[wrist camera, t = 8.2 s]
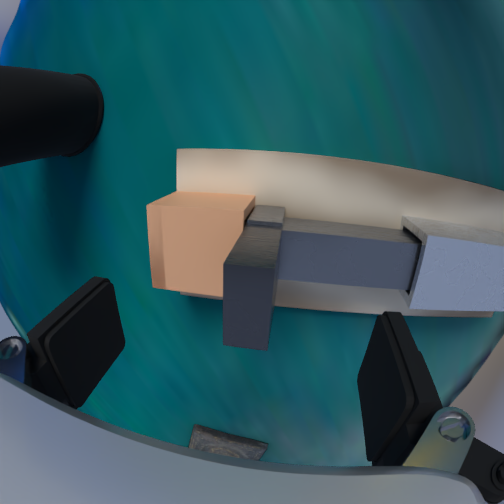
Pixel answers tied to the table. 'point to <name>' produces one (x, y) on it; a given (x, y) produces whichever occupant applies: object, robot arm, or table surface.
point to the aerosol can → (46, 114)
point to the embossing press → (225, 444)
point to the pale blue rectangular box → (456, 267)
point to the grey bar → (305, 265)
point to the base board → (341, 209)
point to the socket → (194, 238)
